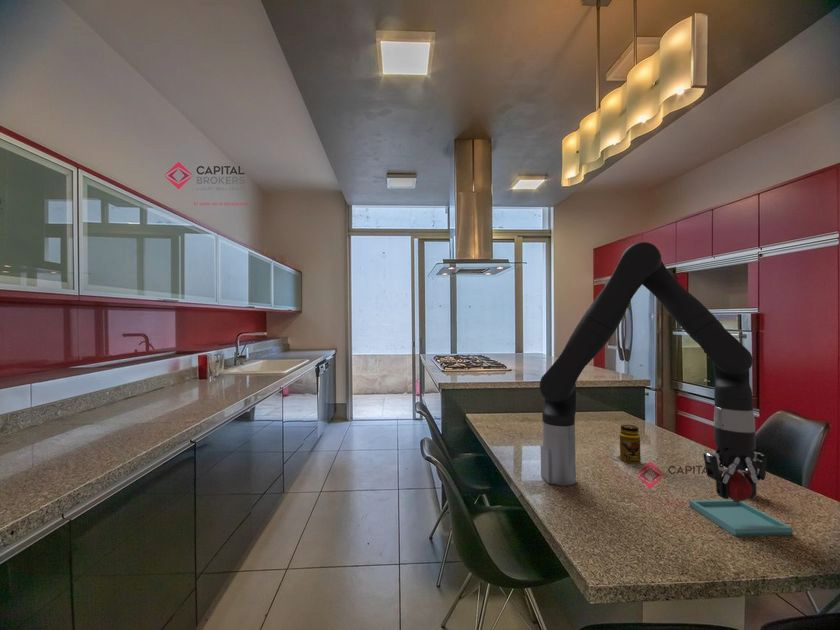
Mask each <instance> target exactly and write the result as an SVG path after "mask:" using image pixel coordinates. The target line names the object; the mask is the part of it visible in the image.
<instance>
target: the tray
mask: <svg viewBox="0 0 840 630" xmlns="http://www.w3.org/2000/svg"><path fill="white" fill-rule="evenodd" d="M688 501H689V504H688V505H689V507H690V508H691V509H692V508H693V509H692V510H694V511H695V512H697V513H699V514H700V515H701V516H703V517H705V518H706V519H708V520H709V521H711V522H712V523H714V524H715V525H717V526H719V527H720V528H721V529H723V530H725V531H726V532H728V533H729V534H731V535H732V536H734V537H760V536H761V537H765V536H771V537H772V536H793V527H792V526H790V525H788V524H786V523H784V522H783V521H780V520H778V519H777V518H775V517H772V516H770V515H769V514H768V513H766V512H763V511H762V510H760V509H757V508H756V507H754V506H752V505H750V504H748V503H747V502H744V501H740V502H734V501H733V500H732V499H731V498H730V499H696V500H695V499H692V500H688Z"/></svg>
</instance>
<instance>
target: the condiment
mask: <svg viewBox="0 0 840 630" xmlns="http://www.w3.org/2000/svg"><path fill="white" fill-rule="evenodd" d="M610 459H612V460H615V461H618V462H620V463H621V464H622V463H623V464H626V465H628V466H630V467H634V466H635V467H636V466H640V465H643V464H647V463H648V462H646V461H643V460H641V459H642V457H641V436H640V434H639V428H638V426H636V425H632V424H622V425H620V432H619V455H617V456H612V457H610Z"/></svg>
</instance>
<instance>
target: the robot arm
mask: <svg viewBox="0 0 840 630" xmlns="http://www.w3.org/2000/svg"><path fill="white" fill-rule="evenodd" d="M641 286H643V287H645V288H646V289H647V290H648V291H649V292H650V293H651V294H652V295H653V296H654V297H655V298H657V301H659V302H660V303H661V305H662V306H663V307H664V308H665V310H666V311H667V312H668V313H669V314H670V315H671V318H672V319H673V320H675V322H677V324H678V325H679V326H680V327H681V328H682V330H683V331H684V332H685V333H686V334H687V335H688V336H689V337H690V338H691V339H692V340H693V341H694V342H696V343H697V344H698V345H699V346H700V348H701V349H702V350H703V351H704V353H705V354H706V355H707V356H708V358H709V359H710V360H711V361H712V367H713V373H714V374H713V375H714V384H715V385H714V394H713V395H714V398H713V399H714V411H713V430H714V431H713V432H714V433H713V434H714V437H713V439H714V443H715V444H716V450H715V452H712V453H709V452H706V451H705V452H704V453H703V459H704V466H705V470H706V476H707V477H708V478H710V479H712V480H714V481H715V487H716V494H717V495H718V496H719V497H720V498H722V499H723V500H729V499H730V498H729V491H728V483H727V482H728V480H729V477H730V476H731V475H733V473H734V471H736V470H740V471H741V472H742V474H743V476H745V477H746V478H747V479H748V481H749V482H750V484H751V486H752V494H751V496H750V497H749V498H748V499H755V498H756V497H757V496H756V487H757V483H759V481H760V480H761V481H764V480H766V474H767V465H768V456H767V455H765V454H764V453H761V452H758V451H754V450H756V449H757V442H756V440H757V439H756V438H757V436H756V418H755V413H754V399H753V398H754V396H753V390H752V387H751V385H750V368H752V365H753V362H754V359H753V356H752V354H751V352H750V350H748V348H747V347H745V346H744V345H743V344H742V343H741V342H740V341H739V340H738V339H737V338H736V337H735V336H734V335H732V333H730V332H729V331H728V330H727V329H726V328H725V326H723V324H722V323H721V322H720V321H719V320H718V319H717V317H716V316H715V315H714V314H713V313H712V312H711V311H710V309H708V308H707V307H706V306H705V305H704V304H703V303H702V302H700V300H699V299H697V297H695V296H694V295H693V294H692V293H690V292H689V291H688V290H687V289H686V288H684V287H683V285H681V284H680V283H679V282H678V281H677V280H676V279H675V278H674V276H673V275H672V274H671V273H670V271H669V270H668V269H667V267H666V266H665V264H664V262H663V260H662V255H661V252H660V250H659V248H658V247H657V246H656V245H655V244H653V243H650V242H647V241H642V242H636V243H634V244H632V245H630V246H628V248H626V249H625V250H624V252H623V253H622V255H621V257H620V259H619V261H618V263H617V265H616V267H615V268H614V270H613V272H612V274H611V276H610V277H609V280H608V281H607V283H606V284H605V286H604V287H603V289H602V290H601V291H600V292H599V294H598V295H597V296H596V297H595V299H594V300H593V302H591V304H590V306H589V307H588V308H587V310H586V311H585V313H584V314H583V315H582V317H581V319H580V320H579V322H578V323H577V325H576V326H575V328H574V330H573V331H572V333H571V335H570V336H569V338H568V340H567V342H566V345H565V346H564V347H563V349H562V352H560V353H561V354H559V356H558V357H557V359H556V360H555V361H554V363H552V365H551V366H550V367H549V368H548V370H547V371H546V372H545V373H544V374H542V376H541V378H540V381H539V389H540V390H539V391H540V393H541V395H542V397H543V398H544V405H543V406H544V407H543V410H542V419H541V421H542V444H540V476H541V477H542V479H544V481H545V482H546V483H547V484H550V485H551V484H552V485H557V486H565V487H566V486H567V487H568V486H573V485H575V483H576V482H577V473H576V472H577V471H576V468H577V467H576V466H577V465H576V426H575V424H576V420H575V419H576V412H577V387H576V385H577V384H576V382H577V380H578V378H579V377H580V375H581V373H582V372H583V370H584V369H585V368H586V366H587V365H588V364H589V363H590V362H591V361H592V360H593V359H594V358H595V357H596V356H597V355H598V354H599V353H600V351H601V350H603V348H604V347H605V345H607V343H608V342H609V340H610V339H611V337H612V336H613V335H614V334H615V332H616V331H617V328H618V327H619V326H620V324H621V322H622V320H623V318H624V317H625V314H626V312H627V310H628V307H629V305H630V302H631V300H632V299H633V298H634V296H635V294H636V293H637V292H638V291H639V289H640V288H641ZM751 462H752V463H751ZM724 467H725V468H726V469H725V468H724ZM722 476H723V477H722ZM755 496H756V497H755Z"/></svg>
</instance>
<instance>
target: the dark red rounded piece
mask: <svg viewBox="0 0 840 630" xmlns="http://www.w3.org/2000/svg"><path fill="white" fill-rule="evenodd" d="M722 477H723V475H722ZM727 483H728V491H729V498H728V499H730V500H731V499H732V500H733V501H734V502H740V501H743V502H744V501H746V500H748V499H750V498H749V497H750V496H751V494H752V486H751V484H750V482H749V481H748V479H747V478H746V477H745V476H743V475H742V474H741V473H739V472H738V470H736V471H734V473H733V475H731V476H730V477H729V480H728V482H727Z"/></svg>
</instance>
